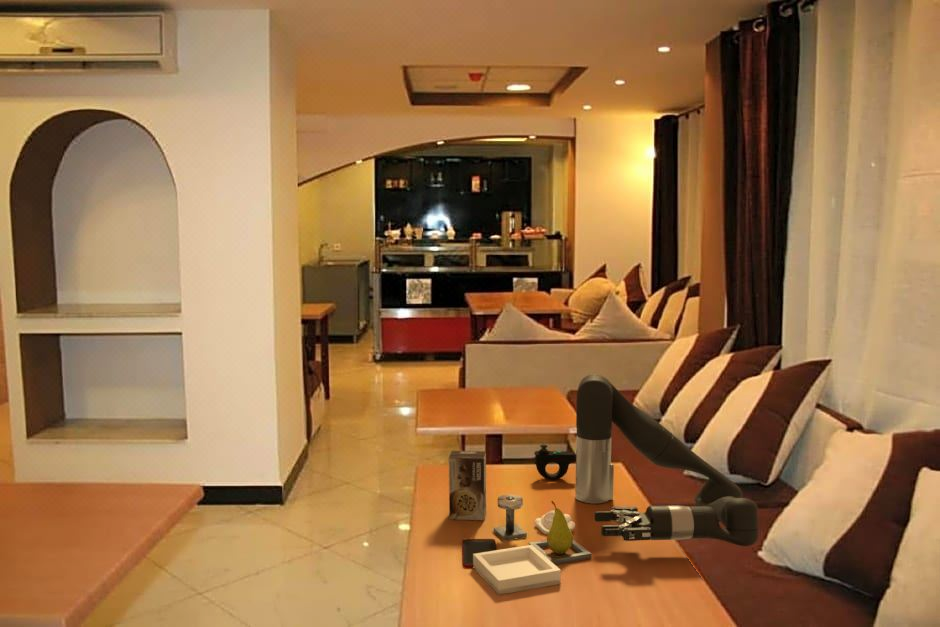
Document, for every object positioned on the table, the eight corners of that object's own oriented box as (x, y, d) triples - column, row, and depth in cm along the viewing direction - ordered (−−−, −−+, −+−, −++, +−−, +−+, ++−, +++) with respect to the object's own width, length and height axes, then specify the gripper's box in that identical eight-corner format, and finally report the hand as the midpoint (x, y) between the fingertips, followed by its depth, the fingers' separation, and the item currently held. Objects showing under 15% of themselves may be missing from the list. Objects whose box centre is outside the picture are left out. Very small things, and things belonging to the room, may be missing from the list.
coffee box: (486, 511, 213) (487, 450, 211) (484, 521, 207) (485, 458, 205) (451, 510, 214) (451, 449, 212) (448, 519, 208) (448, 457, 206)
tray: (531, 557, 185) (531, 544, 185) (560, 583, 172) (560, 569, 172) (473, 567, 180) (473, 553, 180) (498, 594, 167) (498, 580, 167)
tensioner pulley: (516, 528, 202) (516, 492, 201) (526, 537, 197) (527, 500, 196) (493, 531, 200) (493, 495, 199) (503, 540, 195) (503, 503, 194)
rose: (579, 508, 205) (570, 521, 196) (579, 525, 205) (570, 539, 196) (540, 503, 208) (529, 516, 199) (539, 520, 209) (529, 534, 199)
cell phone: (495, 542, 195) (495, 538, 194) (498, 569, 180) (498, 565, 180) (462, 542, 194) (462, 538, 194) (463, 569, 180) (463, 565, 180)
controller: (533, 476, 242) (533, 443, 240) (575, 476, 242) (576, 443, 240) (534, 481, 237) (534, 447, 236) (577, 481, 237) (578, 447, 236)
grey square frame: (569, 541, 194) (569, 536, 194) (591, 558, 185) (591, 553, 185) (528, 547, 191) (528, 542, 191) (549, 565, 181) (549, 560, 181)
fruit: (576, 557, 186) (577, 505, 184) (551, 559, 184) (551, 507, 183) (567, 547, 191) (568, 496, 190) (543, 549, 190) (544, 498, 188)
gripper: (677, 551, 180) (603, 552, 180) (661, 526, 195) (592, 527, 194) (678, 518, 180) (603, 519, 179) (661, 495, 194) (592, 496, 193)
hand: (597, 523), depth 187 cm, fingers open, 8 cm apart
